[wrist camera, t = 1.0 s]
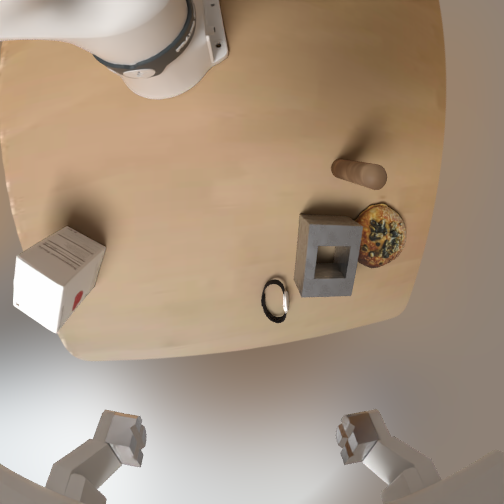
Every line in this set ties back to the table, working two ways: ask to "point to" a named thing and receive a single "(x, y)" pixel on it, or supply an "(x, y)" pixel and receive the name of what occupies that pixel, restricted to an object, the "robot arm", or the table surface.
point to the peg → (360, 173)
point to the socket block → (345, 257)
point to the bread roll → (380, 235)
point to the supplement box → (56, 276)
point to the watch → (285, 302)
